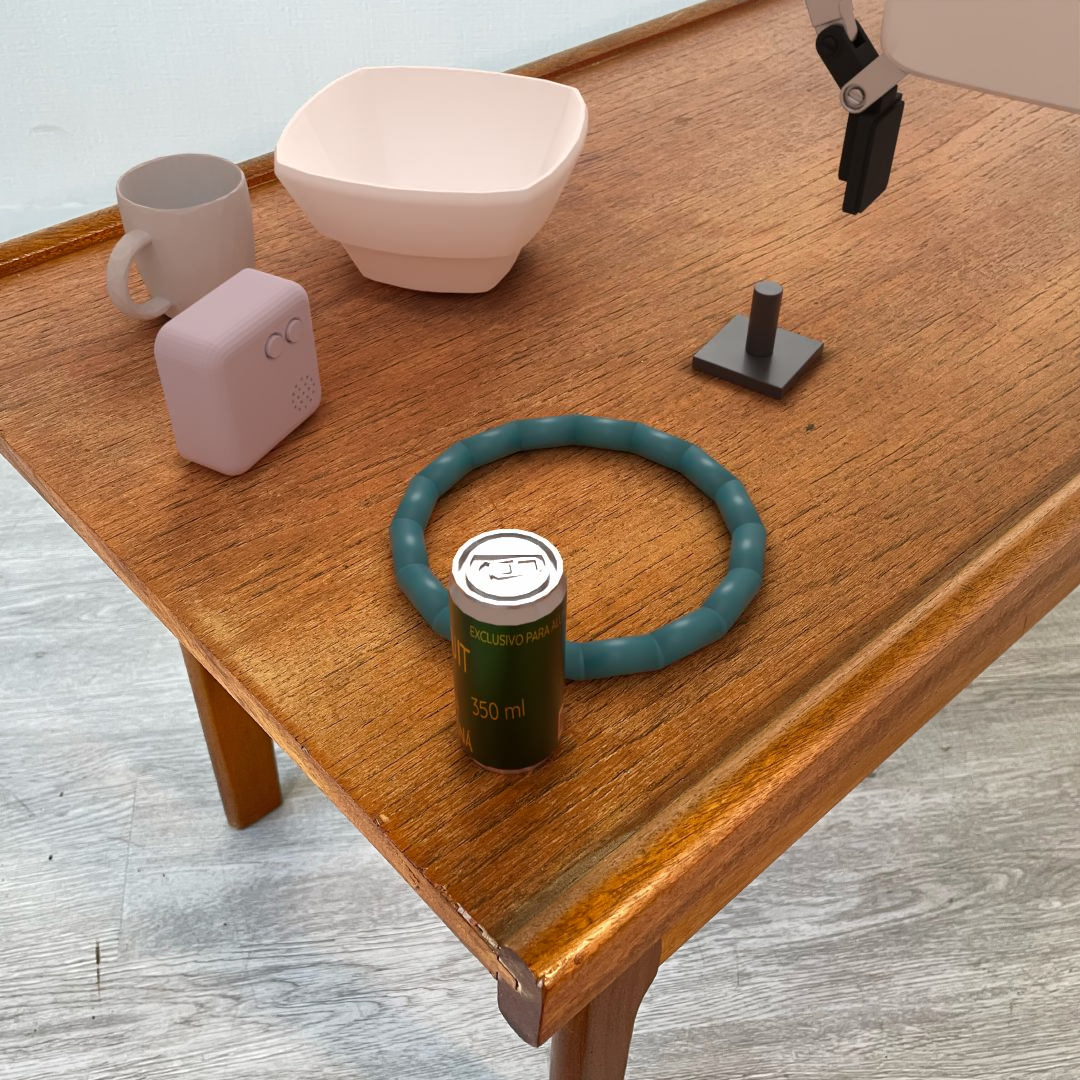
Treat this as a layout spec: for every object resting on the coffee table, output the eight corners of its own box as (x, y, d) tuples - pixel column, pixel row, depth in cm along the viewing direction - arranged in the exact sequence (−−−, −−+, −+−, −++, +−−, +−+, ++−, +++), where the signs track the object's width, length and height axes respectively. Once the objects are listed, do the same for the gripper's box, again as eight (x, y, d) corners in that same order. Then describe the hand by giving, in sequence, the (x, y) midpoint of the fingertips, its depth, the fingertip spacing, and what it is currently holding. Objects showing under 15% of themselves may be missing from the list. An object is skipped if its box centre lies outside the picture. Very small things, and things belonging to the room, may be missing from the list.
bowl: (548, 357, 87) (550, 208, 79) (259, 318, 91) (234, 172, 83) (603, 215, 103) (610, 80, 95) (357, 187, 107) (343, 54, 99)
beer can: (553, 690, 64) (557, 520, 56) (571, 772, 60) (578, 602, 52) (451, 702, 63) (441, 531, 55) (463, 785, 59) (453, 615, 51)
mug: (199, 262, 97) (175, 142, 90) (289, 292, 93) (270, 169, 87) (83, 338, 88) (46, 212, 82) (177, 373, 85) (147, 245, 78)
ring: (823, 515, 74) (829, 490, 73) (641, 750, 61) (644, 725, 60) (530, 396, 83) (530, 372, 82) (315, 577, 70) (311, 552, 69)
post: (822, 354, 88) (836, 281, 84) (780, 400, 83) (793, 326, 79) (736, 324, 91) (746, 252, 86) (691, 367, 86) (699, 294, 82)
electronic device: (239, 490, 76) (212, 356, 69) (182, 468, 77) (149, 334, 71) (333, 408, 82) (316, 278, 75) (278, 388, 84) (256, 260, 77)
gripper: (1467, -281, 35) (1234, 257, 46) (894, -329, 42) (816, 147, 53) (1441, -241, 30) (1189, 346, 41) (802, -303, 37) (737, 212, 49)
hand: (979, 234), depth 47 cm, fingers open, 9 cm apart
